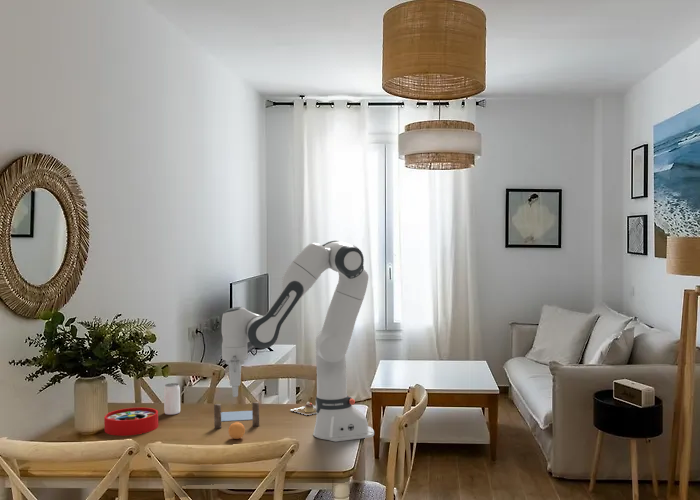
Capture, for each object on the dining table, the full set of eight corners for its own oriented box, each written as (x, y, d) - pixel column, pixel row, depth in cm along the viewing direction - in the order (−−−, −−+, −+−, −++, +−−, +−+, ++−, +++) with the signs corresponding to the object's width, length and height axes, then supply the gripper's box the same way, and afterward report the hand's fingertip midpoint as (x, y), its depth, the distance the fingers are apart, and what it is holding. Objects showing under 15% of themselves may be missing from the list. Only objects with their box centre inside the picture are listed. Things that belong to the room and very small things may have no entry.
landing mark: (254, 410, 289) (254, 410, 289) (254, 419, 275) (254, 419, 275) (220, 412, 287) (220, 412, 287) (219, 421, 273) (219, 421, 273)
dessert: (329, 412, 287) (329, 400, 287) (307, 417, 279) (307, 406, 279) (311, 407, 296) (310, 396, 296) (289, 412, 288) (289, 401, 288)
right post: (259, 424, 268) (258, 401, 268) (259, 426, 265) (259, 403, 265) (252, 424, 267) (252, 402, 267) (252, 426, 265) (252, 403, 265)
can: (176, 415, 284) (175, 386, 283) (161, 414, 285) (161, 386, 285) (182, 411, 290) (182, 383, 290) (168, 410, 291) (168, 382, 291)
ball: (245, 435, 253) (244, 419, 253) (245, 440, 247) (244, 424, 247) (228, 436, 252) (228, 420, 252) (228, 441, 246) (228, 425, 246)
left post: (221, 426, 265) (221, 403, 265) (221, 428, 263) (220, 405, 263) (214, 427, 265) (214, 404, 265) (214, 428, 262) (213, 405, 262)
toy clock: (163, 416, 261) (108, 423, 252) (163, 431, 261) (109, 439, 252) (152, 405, 279) (100, 411, 269) (152, 419, 279) (100, 426, 270)
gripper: (244, 358, 228) (244, 399, 228) (243, 348, 248) (244, 386, 249) (224, 359, 227) (225, 400, 227) (226, 349, 247) (226, 387, 248)
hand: (235, 393), depth 238 cm, fingers open, 8 cm apart
